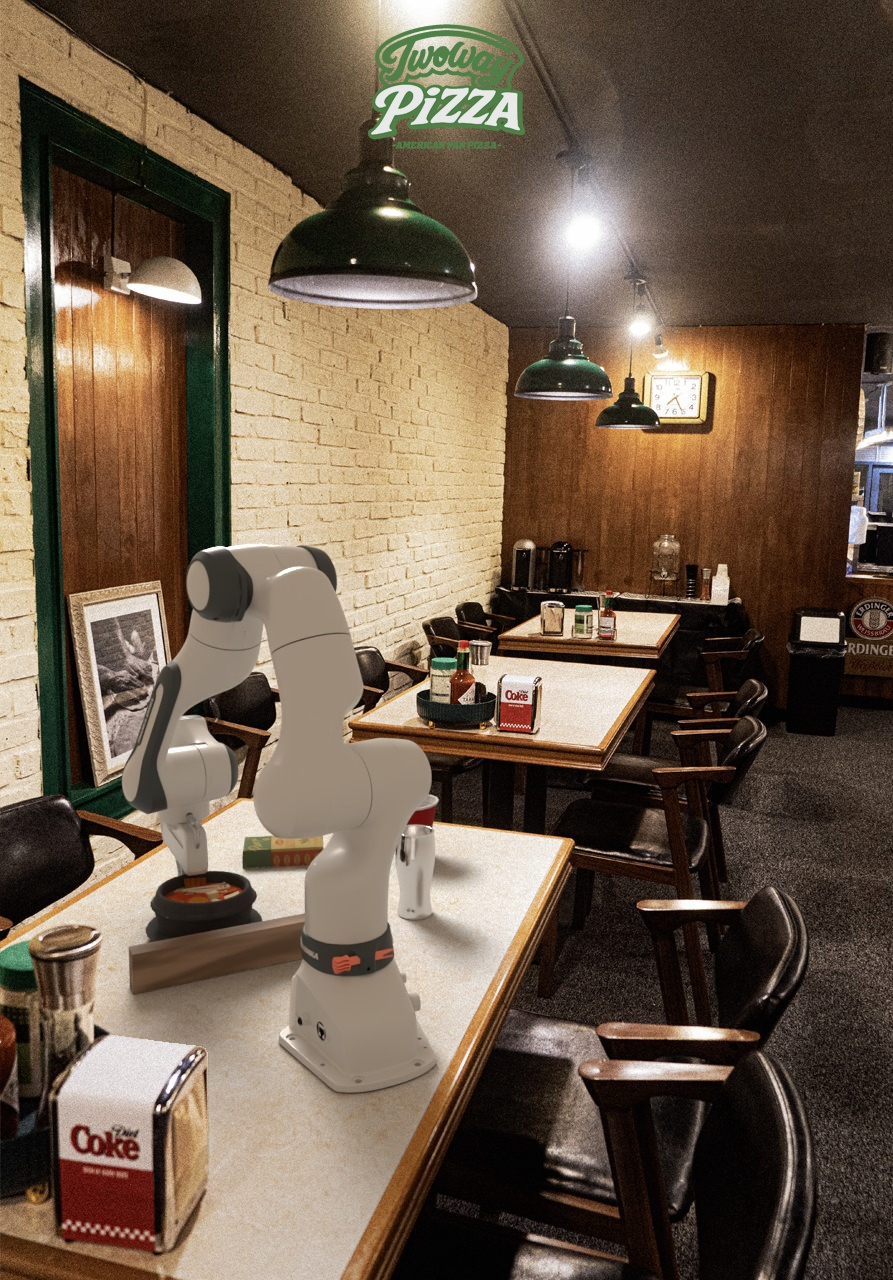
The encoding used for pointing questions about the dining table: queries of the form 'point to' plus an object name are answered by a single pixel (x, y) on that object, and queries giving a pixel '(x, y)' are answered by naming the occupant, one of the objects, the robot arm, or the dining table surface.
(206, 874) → the casserole
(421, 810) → the plastic cup
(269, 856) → the carton
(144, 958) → the walnut board
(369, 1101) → the dining table surface
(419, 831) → the beer glass
